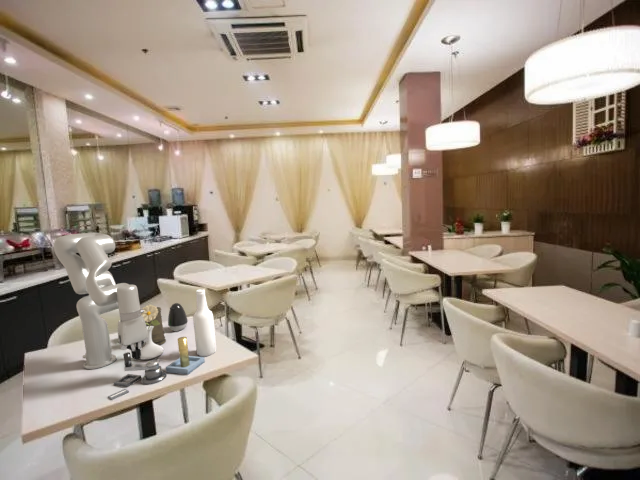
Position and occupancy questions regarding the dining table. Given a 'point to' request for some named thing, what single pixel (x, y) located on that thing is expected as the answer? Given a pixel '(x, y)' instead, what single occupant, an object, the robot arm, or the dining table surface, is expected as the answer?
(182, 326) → the black egg shape
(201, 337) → the alcohol
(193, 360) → the tray
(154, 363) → the crank
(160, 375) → the crank housing
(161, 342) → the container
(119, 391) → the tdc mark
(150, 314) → the flower in vase
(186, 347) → the peg
